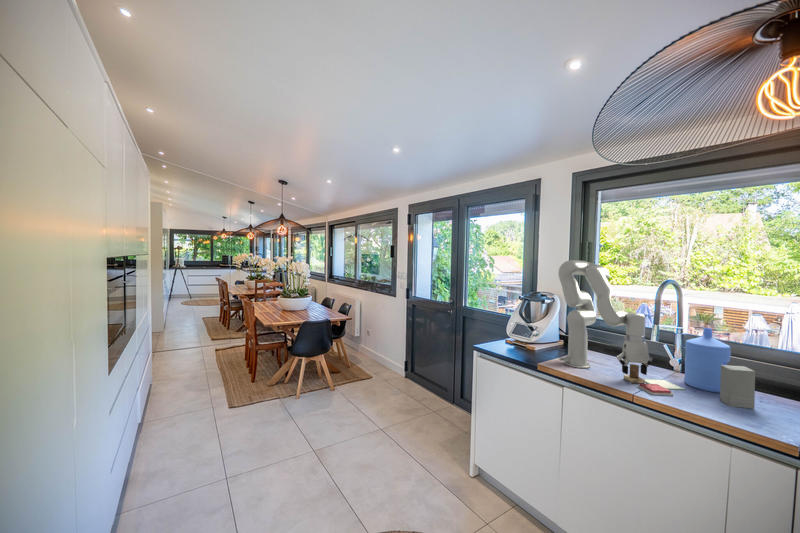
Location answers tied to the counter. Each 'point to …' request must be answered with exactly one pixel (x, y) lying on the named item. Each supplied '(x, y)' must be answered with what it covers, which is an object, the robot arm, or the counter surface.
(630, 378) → the wooden stamp
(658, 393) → the ink pad
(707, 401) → the counter surface
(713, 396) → the counter surface
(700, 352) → the water jug
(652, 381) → the marked square
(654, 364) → the counter surface
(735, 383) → the skincare box
